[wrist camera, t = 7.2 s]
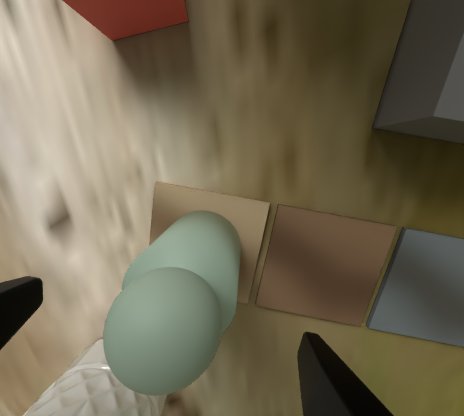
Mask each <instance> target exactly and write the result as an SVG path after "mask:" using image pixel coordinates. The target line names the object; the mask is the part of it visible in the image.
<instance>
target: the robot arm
mask: <svg viewBox="0 0 464 416" xmlns="http://www.w3.org/2000/svg"><path fill="white" fill-rule="evenodd" d="M42 301H43V283H42V280H41V279H40V278H36V277H31V276H26V277H22V278H18V279H14V280H10V281H6V282H2V283H0V350H1V349H2V348H3V347H4V346H5V344H6V343H7V342H8V341H9V340H10V339H11V338H12V337H13V336H14V335H15V333H16V332H17V331H18V330H19V329H20V328H21V327H22V326H23V325H24V324H25V322H26V321H27V320H28V319H29V318H30V317H31V316H32V315H33V314H34V312H35V311H36V310H37V309H38V308H39V307H40V305H41V304H42ZM297 359H298V369H299V379H300V389H301V399H302V408H303V416H394V415H393V414H392V413H391V412H390V411H389V410H388V409H387V408H386V407H385V406H384V405H383V404H382V403H381V402H380V400H379V399H378V398H377V397H376V396H375V395H374V394H373V393H372V392H371V391H370V390H369V389H368V388H367V386H366V385H365V384H364V383H363V382H362V381H361V380H360V379H359V378H358V377H357V376H356V375H355V374H354V373H353V371H352V370H351V369H350V368H349V367H348V366H347V365H346V364H345V363H344V362H343V361H342V360H341V359H340V358H339V356H338V355H337V354H336V353H335V352H334V351H333V350H332V349H331V348H330V347H329V346H328V345H327V344H326V343H325V341H324V340H323V339H322V338H321V337H320V336H319V335H318V334H315V333H311V332H305V333H304V334H303V337H302V340H301V343H300V346H299V350H298V356H297Z"/></svg>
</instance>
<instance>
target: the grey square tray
mask: <svg viewBox="0 0 464 416" xmlns="http://www.w3.org/2000/svg"><path fill="white" fill-rule="evenodd" d="M372 128H375V129H381V130H387V131H392V132H398V133H404V134H410V135H415V136H421V137H427V138H433V139H438V140H444V141H450V142H456V143H461V144H464V0H411V3H410V6H409V9H408V13H407V16H406V19H405V22H404V26H403V29H402V32H401V35H400V39H399V42H398V45H397V48H396V52H395V55H394V58H393V61H392V64H391V68H390V71H389V74H388V77H387V81H386V84H385V87H384V90H383V94H382V97H381V100H380V103H379V107H378V110H377V113H376V116H375V120H374V123H373V126H372Z"/></svg>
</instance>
